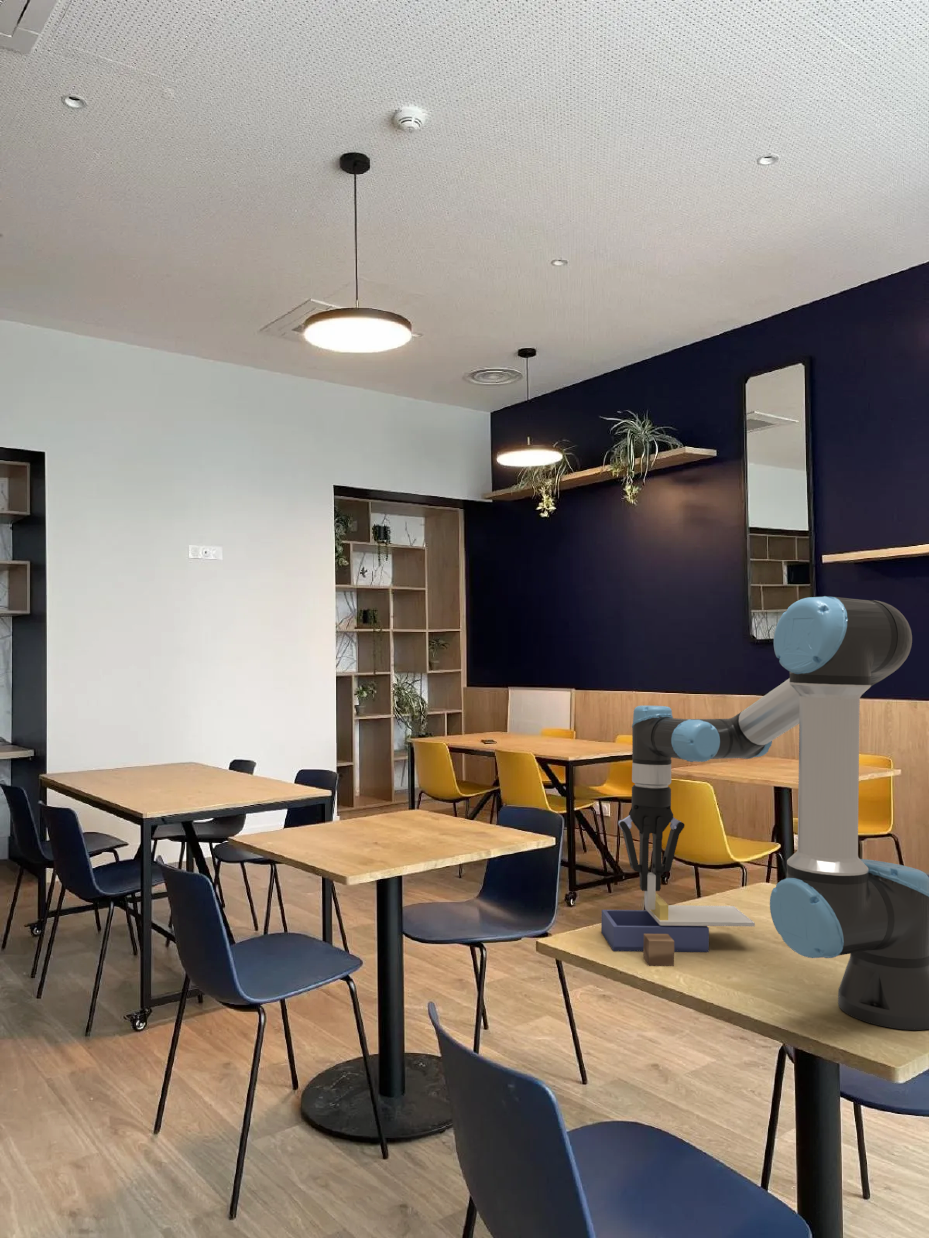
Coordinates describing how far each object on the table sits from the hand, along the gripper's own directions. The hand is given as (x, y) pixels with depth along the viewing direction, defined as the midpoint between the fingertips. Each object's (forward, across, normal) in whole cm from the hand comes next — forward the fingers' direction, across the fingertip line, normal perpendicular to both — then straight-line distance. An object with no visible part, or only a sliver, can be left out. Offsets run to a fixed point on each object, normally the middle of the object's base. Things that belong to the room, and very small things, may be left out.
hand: (649, 907), depth 181 cm
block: (+7, +1, +12) cm, 14 cm away
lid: (+2, -9, 0) cm, 10 cm away
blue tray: (+7, -1, 0) cm, 7 cm away
